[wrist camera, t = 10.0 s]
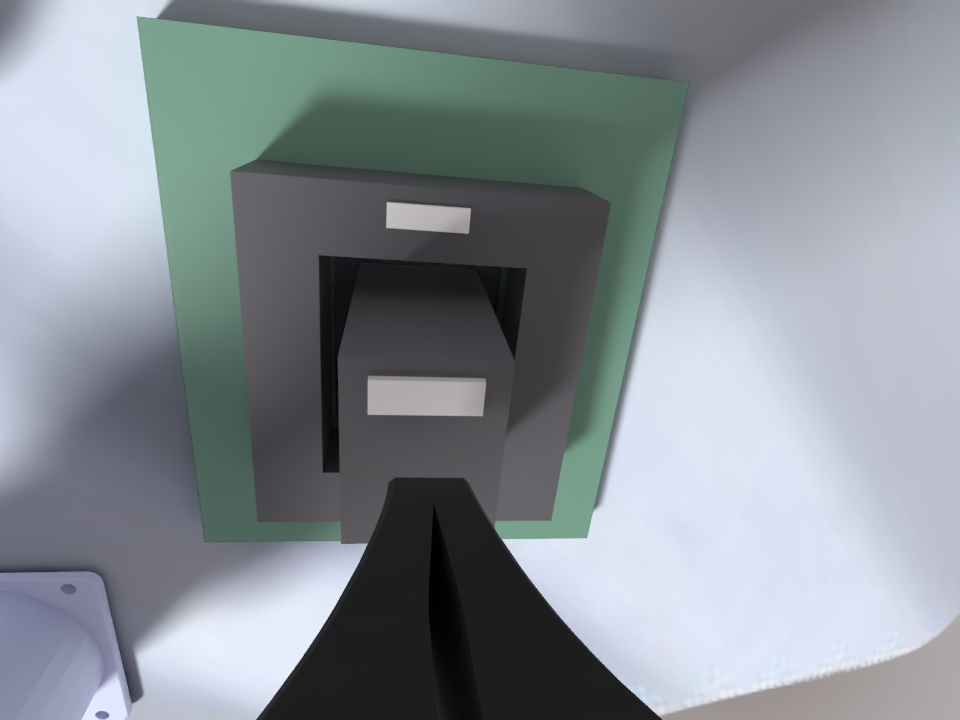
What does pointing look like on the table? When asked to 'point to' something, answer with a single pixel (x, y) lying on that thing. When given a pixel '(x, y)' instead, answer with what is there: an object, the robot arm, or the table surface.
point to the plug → (419, 388)
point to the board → (388, 130)
